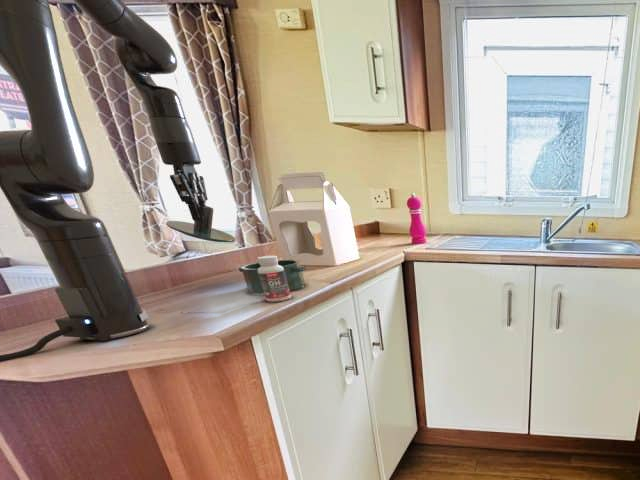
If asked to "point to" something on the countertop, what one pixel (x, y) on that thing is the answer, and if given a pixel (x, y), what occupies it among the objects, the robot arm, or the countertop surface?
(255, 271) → the pot
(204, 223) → the pot lid
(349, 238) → the gable box
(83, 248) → the robot arm
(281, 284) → the pill bottle
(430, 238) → the countertop surface
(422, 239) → the pepper mill
